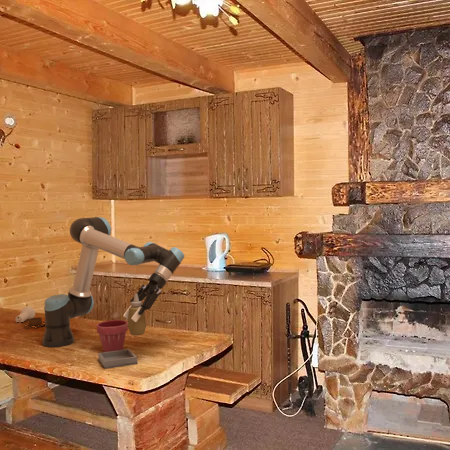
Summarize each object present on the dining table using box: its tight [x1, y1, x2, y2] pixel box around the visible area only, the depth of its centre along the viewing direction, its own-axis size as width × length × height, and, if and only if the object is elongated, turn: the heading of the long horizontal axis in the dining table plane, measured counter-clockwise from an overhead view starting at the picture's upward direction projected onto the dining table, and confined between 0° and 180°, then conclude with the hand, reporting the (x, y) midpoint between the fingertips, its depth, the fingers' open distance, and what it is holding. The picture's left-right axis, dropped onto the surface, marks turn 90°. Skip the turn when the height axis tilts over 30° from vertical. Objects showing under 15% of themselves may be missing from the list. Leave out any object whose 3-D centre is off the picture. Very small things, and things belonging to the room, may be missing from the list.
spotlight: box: [15, 305, 36, 323], centre depth 314 cm, size 8×11×8 cm
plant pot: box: [96, 319, 129, 352], centre depth 249 cm, size 14×14×13 cm
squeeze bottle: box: [127, 293, 147, 337], centre depth 233 cm, size 8×8×18 cm
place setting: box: [23, 317, 45, 329], centre depth 300 cm, size 18×20×6 cm
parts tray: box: [97, 348, 138, 370], centre depth 231 cm, size 14×14×3 cm
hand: (129, 318), depth 231 cm, fingers closed on squeeze bottle, 6 cm apart
